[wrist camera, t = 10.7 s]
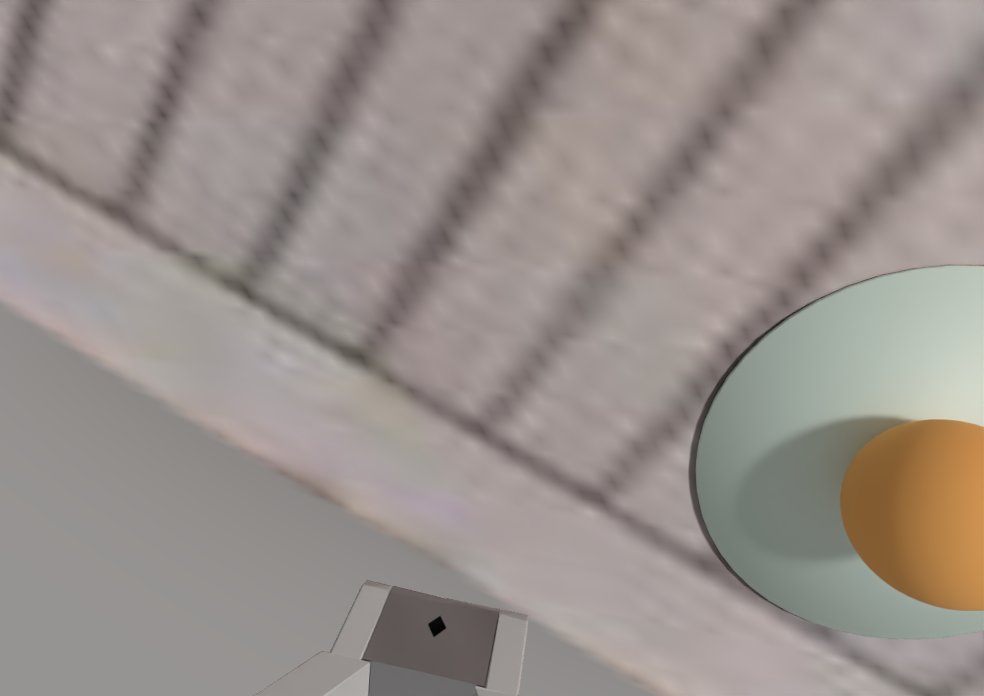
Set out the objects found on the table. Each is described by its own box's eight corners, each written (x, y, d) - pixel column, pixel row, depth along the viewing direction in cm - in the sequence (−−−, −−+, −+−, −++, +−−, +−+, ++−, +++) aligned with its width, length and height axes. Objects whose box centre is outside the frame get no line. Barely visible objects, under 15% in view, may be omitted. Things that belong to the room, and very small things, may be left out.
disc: (733, 247, 18) (734, 248, 18) (1265, 285, 16) (1272, 287, 16) (669, 601, 23) (669, 605, 23) (1072, 664, 21) (1075, 668, 21)
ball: (898, 376, 20) (824, 424, 17) (1116, 433, 16) (1072, 509, 13) (867, 513, 21) (795, 579, 18) (1057, 592, 18) (1006, 691, 15)
